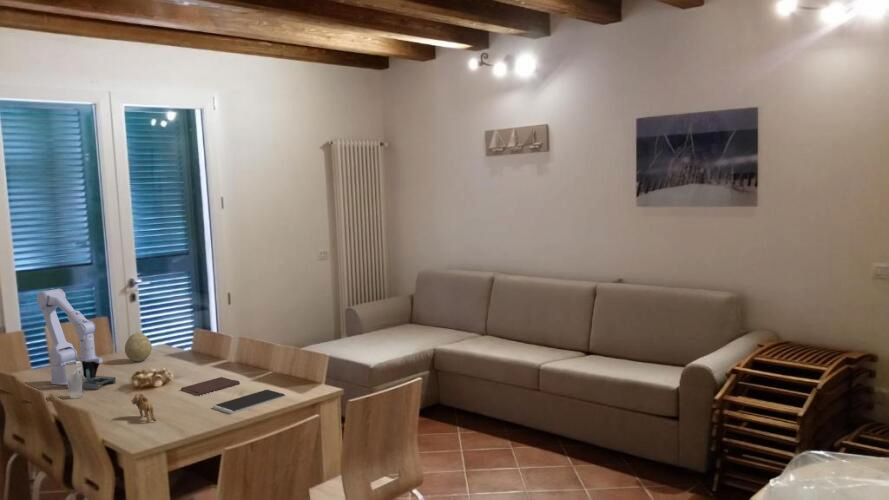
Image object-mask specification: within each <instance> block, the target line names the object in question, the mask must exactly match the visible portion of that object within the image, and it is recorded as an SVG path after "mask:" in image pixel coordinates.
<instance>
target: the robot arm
mask: <svg viewBox="0 0 889 500" xmlns="http://www.w3.org/2000/svg"><path fill="white" fill-rule="evenodd" d="M66 298H67V296H66V293H65V291H64V290H63V289H62V288H60V287H58V288H55V289H50V290H49V289H48V290H43V291H42V290H41V291H39V292H38V295H37V297H36V301H37V304H38V306H39V310H40V311H41V314H42V316H43V319H44V322H45V325H46V327H47V330H48V334H49V336H50V338H51V342H52V344H53V346H52V348H51V349H50V350H49V355H50V361H51V363H52V364H53V365H52V367H51V368H50V369H51V370H50V374H51V375H50V376H51V382H50V384H51V385H59V386H68V384H67V381H66V376H65V363H68V362H72V361H82V365H83V371H84V377H83V378H84V379H85V378H86V369H88V368H89V371H90V377H91V378H95V377H96V376H97V372H98V369H99V367H100V364H102V363H103V357H98V356H97V355H96V348H95V336H94V334H95V333H96V330H97V325H96V324H95V322H94V321H93V320H89V319H87V317H85V316H84V315H83V314H82V312H81V311H80V310H75V309H74V308H73V306H72V305H71V303H70V302H69V301H68V299H66ZM57 308H59V309H60V310H61V311H62V312H64V313H65V314H66V315H67V320H68V321H69V322H70V324H71V325H72V326H74V328H75V333H76V335H77V339H78V340H79V345H80V356H78V351H77V350H76V348H74V345H73V344H72V343H70V342H68V341H67V339H66V336H65V333H64V332H63V328H62V326H61V322H60V319H59V317H58V313H57Z"/></svg>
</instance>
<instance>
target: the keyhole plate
mask: <svg viewBox="0 0 889 500" xmlns="http://www.w3.org/2000/svg"><path fill="white" fill-rule="evenodd" d="M94 381H95V382H94ZM104 384H110V385H111V384H112V385H115V384H117V381H116V376H114V377H113V376H106V375H105V376H104V375H96V377H95V378H93V380H88V378H85V377H84V378H83V390H90V391H91V390H92V391H98V390H99V389H100V388H99V386H101V385H104Z"/></svg>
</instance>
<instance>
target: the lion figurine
mask: <svg viewBox="0 0 889 500" xmlns="http://www.w3.org/2000/svg"><path fill="white" fill-rule="evenodd" d="M130 402H131V403H132V405H135V406H136V407H137V409H138V411H139V416H138V418H139V419H143V417H144V415H145V418H146V424H149V423H150V422H151V421H150V418H151V420H153V422H156V421H157V420H156V417H155V415H154V406H153V404H152V403H151V402H149V400H148V399H147V397H146V396H145V395H144V394H142V393H136V394H135V395H134V397H133V399H131V400H130ZM143 412H144V414H143Z"/></svg>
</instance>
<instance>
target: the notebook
mask: <svg viewBox="0 0 889 500" xmlns="http://www.w3.org/2000/svg"><path fill="white" fill-rule="evenodd" d="M240 384H241V383H240V381H239V380H236V379H232V378H231V379H230V378H227V377H224V376H220V377H217V378H211V379H209V380H208V379H207V380H205V381H202V382H197V383H194V384H191V385H190V384H189V385H188V386H183V387H181V389H180V390H181V391H183V392H186V393H190V394H193V395H195V394H196V396H200V395H201V396H203V394H204V395H208V394H211V393H214V391H215V392H218V391H222V390H225V389H229V388H231V387H235V385H236V386H239V385H240ZM228 387H229V388H228ZM210 392H211V393H210ZM207 393H208V394H207Z"/></svg>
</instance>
